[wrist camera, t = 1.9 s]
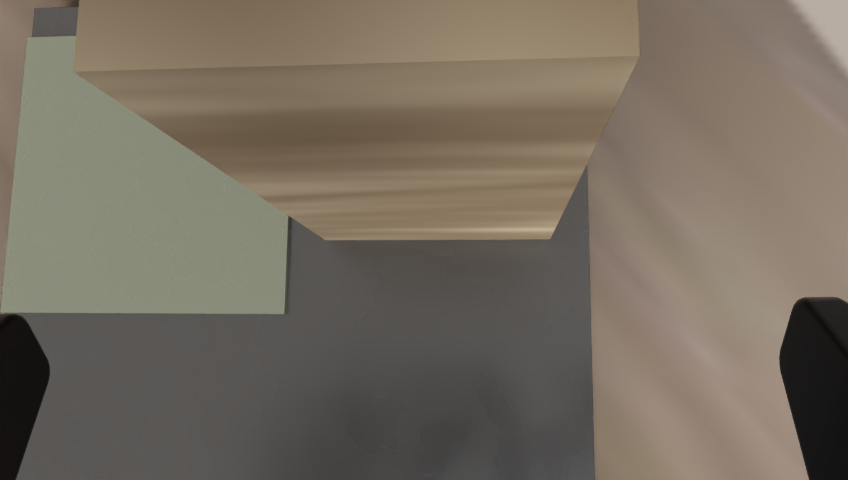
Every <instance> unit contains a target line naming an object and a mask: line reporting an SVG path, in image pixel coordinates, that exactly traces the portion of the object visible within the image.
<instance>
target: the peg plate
mask: <svg viewBox="0 0 848 480" xmlns="http://www.w3.org/2000/svg"><path fill="white" fill-rule="evenodd" d="M78 8H79V7H60V8H35V10H34V21H33V31H32V37H27V46H26V56H25V66H24V76H23V86H22V96H21V106H20V117H19V127H18V137H17V147H16V157H15V167H14V178H13V188H12V198H11V208H10V218H9V228H8V238H7V249H6V259H5V269H4V279H3V289H2V299H1V310H0V312H1V313H5V314H18V315H21V316H22V317H24V318H25V319H26V320H27V322H28V323H29V325H30V327H31V329H32V330H33V332H34V334H35V336H36V338H37V340H38V342H39V343H40V345H41V347H42V349H43V351H44V353H45V355H46V357H47V359H48V361H49V365H50V377H49V382H48V385H47V388H46V391H45V394H44V397H43V400H42V403H41V406H40V409H39V412H38V415H37V418H36V421H35V424H34V427H33V430H32V433H31V436H30V439H29V442H28V445H27V448H26V451H25V454H24V457H23V460H22V463H21V466H20V469H19V472H18V475H17V478H16V480H595V469H594V428H593V387H592V346H591V305H590V265H589V224H588V183H587V165H586V167H585V169H584V171H583V173H582V175H581V177H580V179H579V181H578V183H577V185H576V187H575V190H574V192H573V194H572V196H571V198H570V200H569V202H568V204H567V206H566V208H565V210H564V212H563V214H562V216H561V218H560V220H559V222H558V224H557V226H556V228H555V230H554V232H553V234H552V236H551V239H508V240H324V239H323V238H321V237H320V236H318V235H317V234H315V233H314V232H312V231H311V230H309V229H308V228H306V227H305V226H303V225H302V224H300V223H299V222H297V221H296V220H294V219H293V218H291V217H290V216H288V215H287V214H285V213H284V212H282V211H281V210H279V209H278V208H276V207H275V206H273V205H272V204H270V203H269V202H267V201H266V200H264V199H263V198H261V197H260V196H258V195H257V194H255V193H254V192H252V191H251V190H249V189H248V188H246V187H245V186H243V185H242V184H240V183H239V182H237V181H236V180H234V179H233V178H231V177H230V176H228V175H227V174H225V173H224V172H222V171H221V170H219V169H218V168H216V167H215V166H213V165H212V164H210V163H209V162H207V161H206V160H204V159H203V158H201V157H200V156H198V155H197V154H195V153H194V152H192V151H191V150H189V149H188V148H186V147H185V146H183V145H182V144H180V143H179V142H177V141H176V140H174V139H173V138H171V137H170V136H168V135H167V134H165V133H164V132H162V131H161V130H160V129H158V128H157V127H155V126H154V125H152V124H151V123H149V122H148V121H146V120H145V119H143V118H142V117H140V116H139V115H137V114H136V113H134V112H133V111H131V110H130V109H128V108H127V107H125V106H124V105H122V104H121V103H119V102H118V101H116V100H115V99H113V98H112V97H110V96H109V95H107V94H106V93H104V92H103V91H101V90H100V89H98V88H97V87H95V86H94V85H92V84H91V83H89V82H88V81H86V80H85V79H83V78H82V77H80V76H79V75H77V74H76V73H74V72H73V65H74V54H75V42H76V31H77V20H78Z"/></svg>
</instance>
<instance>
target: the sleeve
mask: <svg viewBox="0 0 848 480" xmlns="http://www.w3.org/2000/svg"><path fill="white" fill-rule="evenodd" d="M639 57H640V44H639V17H638V0H79V8H78V20H77V31H76V42H75V54H74V65H73V72H74V73H76V74H77V75H79V76H80V77H82V78H83V79H85V80H86V81H88V82H89V83H91V84H92V85H94V86H95V87H97V88H98V89H100V90H101V91H103V92H104V93H106V94H107V95H109V96H110V97H112V98H113V99H115V100H116V101H118V102H119V103H121V104H122V105H124V106H125V107H127V108H128V109H130V110H131V111H133V112H134V113H136V114H137V115H139V116H140V117H142V118H143V119H145V120H146V121H148V122H149V123H151V124H152V125H154V126H155V127H157V128H158V129H160V130H161V131H162V132H164V133H165V134H167V135H168V136H170V137H171V138H173V139H174V140H176V141H177V142H179V143H180V144H182V145H183V146H185V147H186V148H188V149H189V150H191V151H192V152H194V153H195V154H197V155H198V156H200V157H201V158H203V159H204V160H206V161H207V162H209V163H210V164H212V165H213V166H215V167H216V168H218V169H219V170H221V171H222V172H224V173H225V174H227V175H228V176H230V177H231V178H233V179H234V180H236V181H237V182H239V183H240V184H242V185H243V186H245V187H246V188H248V189H249V190H251V191H252V192H254V193H255V194H257V195H258V196H260V197H261V198H263V199H264V200H266V201H267V202H269V203H270V204H272V205H273V206H275V207H276V208H278V209H279V210H281V211H282V212H284V213H285V214H287V215H288V216H290V217H291V218H293V219H294V220H296V221H297V222H299V223H300V224H302V225H303V226H305V227H306V228H308V229H309V230H311V231H312V232H314V233H315V234H317V235H318V236H320V237H321V238H323V239H324V240H508V239H551V236H552V234H553V232H554V230H555V228H556V226H557V224H558V222H559V220H560V218H561V216H562V214H563V212H564V210H565V208H566V206H567V204H568V202H569V200H570V198H571V196H572V194H573V192H574V190H575V187H576V185H577V183H578V181H579V179H580V177H581V175H582V173H583V171H584V169H585V167H586V165H587V163H588V161H589V159H590V157H591V155H592V153H593V151H594V149H595V147H596V145H597V143H598V141H599V138H600V136H601V134H602V132H603V130H604V128H605V126H606V124H607V122H608V120H609V118H610V116H611V114H612V112H613V110H614V108H615V106H616V104H617V102H618V100H619V98H620V96H621V94H622V92H623V89H624V87H625V85H626V83H627V81H628V79H629V77H630V75H631V73H632V71H633V69H634V67H635V65H636V63H637V61H638V59H639Z"/></svg>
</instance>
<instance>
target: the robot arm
mask: <svg viewBox="0 0 848 480" xmlns="http://www.w3.org/2000/svg"><path fill="white" fill-rule="evenodd" d="M779 360H780V370H781V375H782V379H783V382H784V386H785V390H786V394H787V398H788V401H789V405H790V409H791V413H792V417H793V420H794V424H795V428H796V432H797V436H798V439H799V443H800V447H801V451H802V455H803V458H804V462H805V466H806V470H807V474H808V477H809V480H848V303H847V302H846V301H844V300H842V299H840V298H837V297H805V298H801V299H799V300H798V301H797V302H796V303H795V304H794V306H793V309H792V312H791V315H790V319H789V322H788V326H787V329H786V332H785V336H784V339H783V343H782V346H781V350H780V357H779ZM49 377H50V365H49V361H48V359H47V357H46V355H45V353H44V351H43V349H42V347H41V345H40V343H39V342H38V340H37V338H36V336H35V334H34V332H33V330H32V329H31V327H30V325H29V323H28V322H27V320H26V319H25V318H24V317H22V316H21V315H18V314H0V480H16V478H17V475H18V472H19V469H20V466H21V463H22V460H23V457H24V454H25V451H26V448H27V445H28V442H29V439H30V436H31V433H32V430H33V427H34V424H35V421H36V418H37V415H38V412H39V409H40V406H41V403H42V400H43V397H44V394H45V391H46V388H47V385H48V382H49Z"/></svg>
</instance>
